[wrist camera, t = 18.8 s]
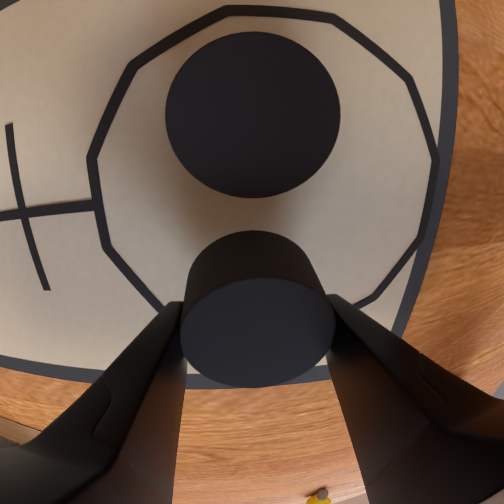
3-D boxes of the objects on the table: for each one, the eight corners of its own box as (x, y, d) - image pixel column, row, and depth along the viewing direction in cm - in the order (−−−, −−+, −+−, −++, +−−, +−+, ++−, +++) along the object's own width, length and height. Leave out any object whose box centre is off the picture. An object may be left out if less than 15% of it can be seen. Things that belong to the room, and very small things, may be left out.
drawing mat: (444, -22, 6) (453, -25, 5) (384, 363, 15) (388, 371, 15) (-130, 112, 3) (-135, 114, 3) (-66, 341, 13) (-69, 346, 12)
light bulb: (305, 500, 31) (302, 518, 28) (312, 480, 30) (309, 500, 27) (328, 501, 31) (326, 519, 27) (337, 481, 29) (336, 501, 26)
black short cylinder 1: (314, 52, 7) (343, 39, 5) (310, 175, 9) (335, 198, 7) (179, 51, 7) (163, 35, 5) (182, 177, 9) (170, 202, 7)
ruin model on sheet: (-2, 451, 24) (-14, 498, 15) (-63, 385, 16) (-88, 442, 8) (143, 493, 27) (140, 555, 18) (99, 445, 19) (85, 542, 10)
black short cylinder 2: (320, 227, 9) (349, 271, 6) (306, 330, 10) (322, 381, 8) (180, 231, 8) (166, 280, 6) (194, 336, 10) (189, 390, 8)
